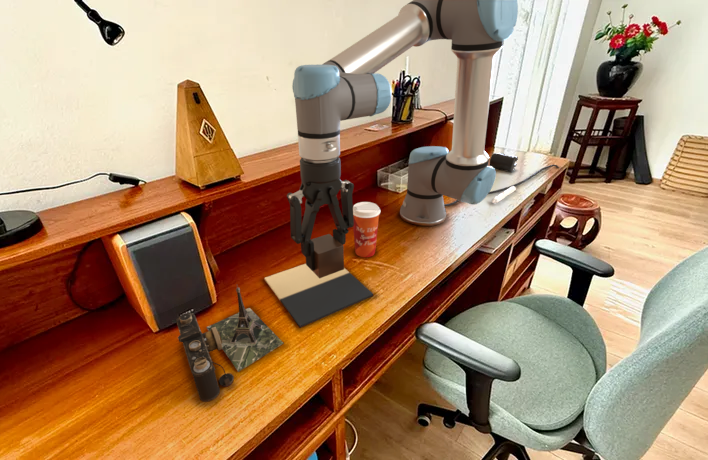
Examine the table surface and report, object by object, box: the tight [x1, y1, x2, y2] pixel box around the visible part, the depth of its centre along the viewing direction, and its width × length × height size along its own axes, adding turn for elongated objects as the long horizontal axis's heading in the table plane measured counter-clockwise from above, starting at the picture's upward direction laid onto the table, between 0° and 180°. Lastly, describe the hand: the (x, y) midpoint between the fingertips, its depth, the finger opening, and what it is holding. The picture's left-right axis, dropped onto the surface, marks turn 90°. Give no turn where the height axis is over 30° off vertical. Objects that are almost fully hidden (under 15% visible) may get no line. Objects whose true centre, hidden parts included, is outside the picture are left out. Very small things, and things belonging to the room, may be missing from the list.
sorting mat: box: [263, 263, 374, 329], centre depth 88 cm, size 19×20×1 cm
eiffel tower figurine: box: [206, 285, 285, 373], centre depth 70 cm, size 15×10×13 cm
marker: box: [491, 185, 517, 204], centre depth 135 cm, size 18×2×2 cm, turn 136°
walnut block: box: [310, 233, 345, 278], centre depth 77 cm, size 6×6×6 cm
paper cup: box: [352, 201, 381, 258], centre depth 99 cm, size 8×8×14 cm
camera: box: [176, 312, 235, 403], centre depth 66 cm, size 16×7×8 cm, turn 33°
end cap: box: [489, 152, 519, 173], centre depth 161 cm, size 10×7×7 cm
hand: (324, 262), depth 78 cm, fingers closed on walnut block, 6 cm apart
